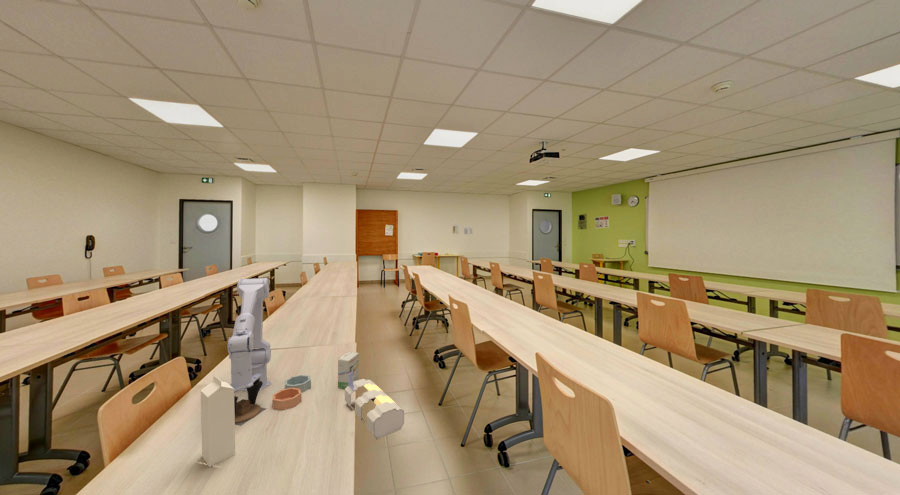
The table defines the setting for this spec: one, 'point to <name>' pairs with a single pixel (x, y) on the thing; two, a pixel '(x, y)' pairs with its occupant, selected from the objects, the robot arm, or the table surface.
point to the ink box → (348, 368)
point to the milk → (217, 421)
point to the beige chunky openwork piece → (385, 413)
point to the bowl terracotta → (286, 398)
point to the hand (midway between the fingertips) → (242, 409)
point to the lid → (245, 411)
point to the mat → (248, 420)
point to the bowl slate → (299, 382)
